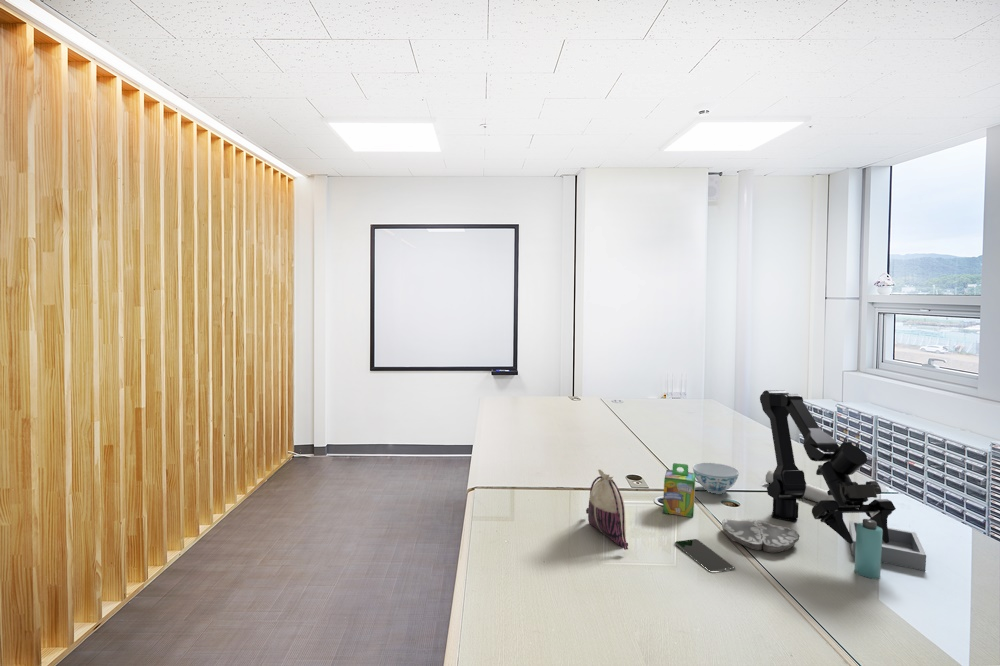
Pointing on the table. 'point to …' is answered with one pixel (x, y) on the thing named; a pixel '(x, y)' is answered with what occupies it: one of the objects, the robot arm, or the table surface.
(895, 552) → the tray
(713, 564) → the smartphone
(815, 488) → the tube
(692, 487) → the chalk box
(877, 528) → the capped bottle
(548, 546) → the table surface
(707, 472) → the chinaware
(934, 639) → the table surface
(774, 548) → the brain slice
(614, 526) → the pouch
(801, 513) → the table surface
